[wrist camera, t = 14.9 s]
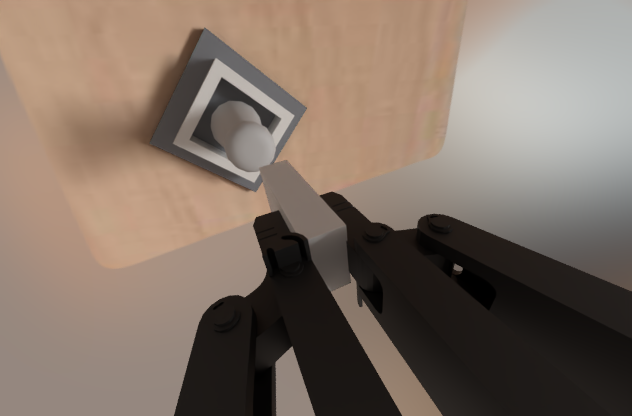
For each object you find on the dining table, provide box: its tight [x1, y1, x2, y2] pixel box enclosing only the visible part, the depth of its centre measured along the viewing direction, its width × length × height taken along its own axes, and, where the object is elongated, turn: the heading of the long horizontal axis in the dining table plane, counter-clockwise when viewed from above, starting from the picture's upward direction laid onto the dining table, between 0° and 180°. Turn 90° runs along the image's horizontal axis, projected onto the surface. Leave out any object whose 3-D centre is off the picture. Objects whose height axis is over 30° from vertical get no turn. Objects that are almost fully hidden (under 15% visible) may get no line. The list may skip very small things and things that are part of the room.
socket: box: [149, 28, 307, 192], centre depth 30 cm, size 14×14×4 cm
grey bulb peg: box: [211, 101, 276, 172], centre depth 25 cm, size 6×6×13 cm
